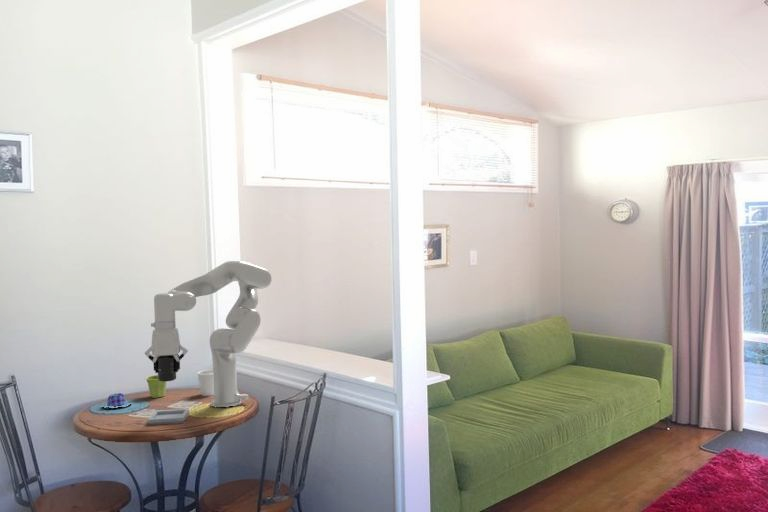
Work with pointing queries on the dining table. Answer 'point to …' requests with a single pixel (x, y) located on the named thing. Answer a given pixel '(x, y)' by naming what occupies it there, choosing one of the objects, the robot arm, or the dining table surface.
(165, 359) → the supplement bottle
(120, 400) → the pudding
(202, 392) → the dixie cup
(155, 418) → the tray
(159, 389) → the plant pot
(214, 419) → the dining table surface
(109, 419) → the dining table surface
